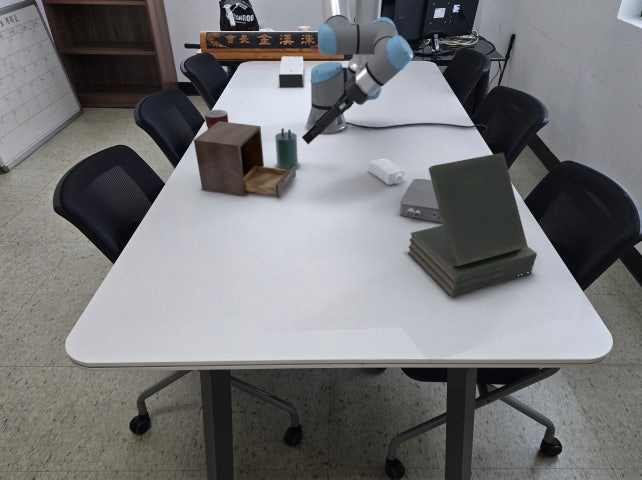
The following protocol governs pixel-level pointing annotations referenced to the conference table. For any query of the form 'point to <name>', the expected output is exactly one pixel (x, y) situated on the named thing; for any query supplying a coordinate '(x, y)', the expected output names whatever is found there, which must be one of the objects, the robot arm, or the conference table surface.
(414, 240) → the stack of books
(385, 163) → the white bottle
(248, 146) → the open wooden box
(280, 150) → the pen pot
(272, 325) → the conference table surface
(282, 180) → the drawer
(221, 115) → the mug
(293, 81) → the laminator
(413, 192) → the electronic device
